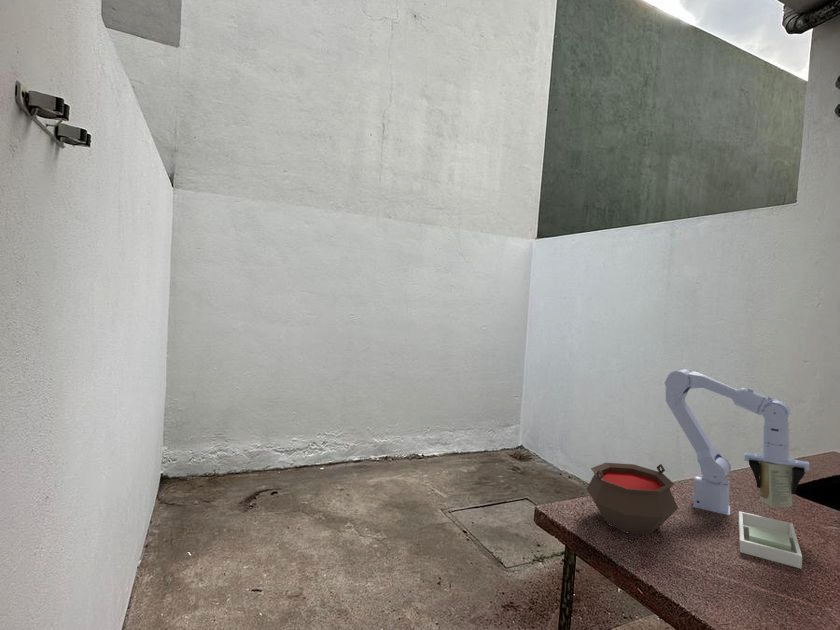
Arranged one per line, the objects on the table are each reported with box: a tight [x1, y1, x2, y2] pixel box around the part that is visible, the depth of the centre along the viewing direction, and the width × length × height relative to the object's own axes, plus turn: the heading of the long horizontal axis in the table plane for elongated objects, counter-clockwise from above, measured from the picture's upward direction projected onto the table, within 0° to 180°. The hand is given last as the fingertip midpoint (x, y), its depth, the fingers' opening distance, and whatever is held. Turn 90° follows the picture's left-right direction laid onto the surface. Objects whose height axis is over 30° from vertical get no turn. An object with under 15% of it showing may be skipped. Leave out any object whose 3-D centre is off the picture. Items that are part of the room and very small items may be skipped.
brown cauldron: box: [586, 462, 679, 536], centre depth 129 cm, size 24×24×16 cm
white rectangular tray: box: [738, 510, 803, 570], centre depth 118 cm, size 12×20×4 cm, turn 145°
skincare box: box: [759, 460, 793, 508], centre depth 128 cm, size 6×4×12 cm
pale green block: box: [749, 526, 791, 552], centre depth 114 cm, size 8×6×4 cm
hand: (775, 489), depth 128 cm, fingers closed on skincare box, 7 cm apart
